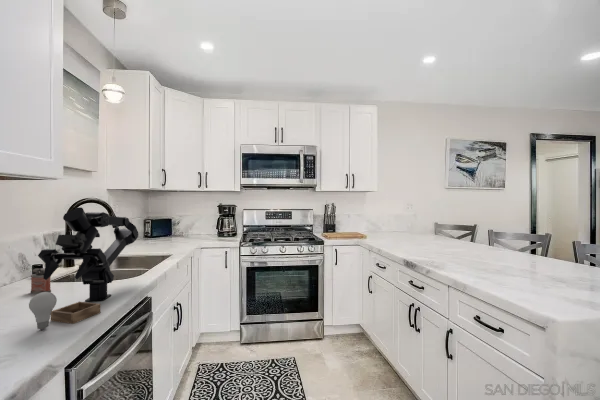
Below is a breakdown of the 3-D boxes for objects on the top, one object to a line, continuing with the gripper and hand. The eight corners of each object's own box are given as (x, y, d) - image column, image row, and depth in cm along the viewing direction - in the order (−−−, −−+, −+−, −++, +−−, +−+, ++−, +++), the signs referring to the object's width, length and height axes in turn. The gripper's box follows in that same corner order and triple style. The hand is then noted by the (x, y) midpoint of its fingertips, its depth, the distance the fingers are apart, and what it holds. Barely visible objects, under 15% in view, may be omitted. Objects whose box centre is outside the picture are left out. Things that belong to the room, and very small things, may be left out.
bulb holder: (79, 310, 99) (79, 301, 99) (100, 312, 97) (100, 303, 97) (50, 320, 90) (50, 311, 91) (73, 323, 88) (73, 314, 88)
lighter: (53, 291, 121) (53, 267, 121) (45, 294, 117) (45, 269, 117) (36, 291, 121) (36, 267, 121) (27, 293, 118) (28, 269, 118)
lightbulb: (28, 329, 84) (28, 292, 84) (55, 323, 89) (55, 287, 89) (28, 336, 80) (29, 297, 80) (57, 329, 84) (57, 292, 84)
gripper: (42, 225, 96) (12, 265, 85) (101, 225, 98) (79, 264, 87) (59, 245, 104) (34, 284, 93) (114, 244, 106) (95, 282, 94)
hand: (60, 278), depth 91 cm, fingers open, 9 cm apart
